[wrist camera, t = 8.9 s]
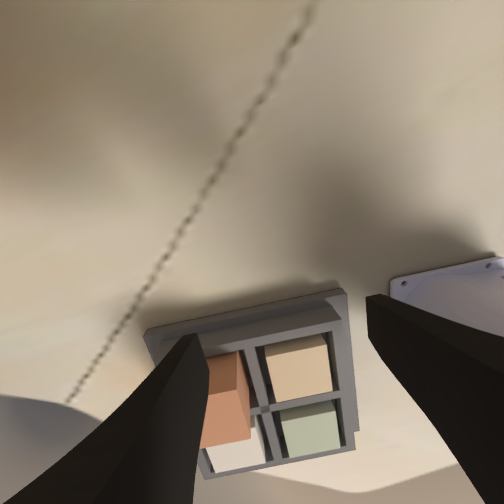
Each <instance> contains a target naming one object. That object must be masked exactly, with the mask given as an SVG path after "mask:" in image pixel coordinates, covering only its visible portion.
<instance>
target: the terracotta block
mask: <svg viewBox="0 0 504 504" xmlns="http://www.w3.org/2000/svg"><path fill="white" fill-rule="evenodd" d="M205 358H206V361H207V364H208V367H209V370H210V375H209V394H208V401H207V407H206V413H205V419H204V425H203V430H202V436H201V442H200V448H199V449H202V448H207V447H212V446H217V445H222V444H227V443H233V442H238V441H243V440H248V439H251V427H250V403H249V380H248V376H247V373H246V369H245V365H244V361H243V358H242V354H241V350H238V351H233V352H228V353H223V354H219V355H214V356H209V357H205Z"/></svg>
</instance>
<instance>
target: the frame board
mask: <svg viewBox="0 0 504 504" xmlns="http://www.w3.org/2000/svg"><path fill="white" fill-rule="evenodd" d="M193 333H197V335H198V337H199V340H200V343H201V346H202V349H203V352H204V355H205V357H209V356H214V355H219V354H223V353H228V352H233V351H238V350H241V354H242V358H243V361H244V365H245V369H246V373H247V376H248V380H249V403H250V427H251V439H248V440H243V441H238V442H233V443H227V444H222V445H217V446H212V447H207V448H202V449H199V453H198V459H197V464H198V466H199V468H200V470H201V473H202V475H203V478H204V480H208V479H213V478H218V477H223V476H228V475H232V474H238V473H243V472H248V471H253V470H258V469H263V468H268V467H273V466H278V465H283V464H288V463H293V462H298V461H303V460H308V459H313V458H318V457H323V456H328V455H333V454H338V453H343V452H348V451H353V450H356V448H355V438H354V432H357V431H360V430H359V419H358V408H357V398H356V387H355V377H354V366H353V356H352V345H351V335H350V324H349V314H348V303H347V293H346V292H345V291H344V290H343V289H342V288H339V289H334V290H330V291H325V292H320V293H316V294H311V295H306V296H301V297H297V298H292V299H287V300H283V301H278V302H273V303H269V304H264V305H259V306H254V307H250V308H245V309H240V310H236V311H231V312H226V313H222V314H217V315H212V316H207V317H203V318H198V319H193V320H189V321H184V322H179V323H175V324H170V325H165V326H160V327H156V328H151V329H147V331H146V332H145V334H144V336H143V338H144V341H145V343H146V345H147V348H148V350H149V352H150V355H151V357H152V359H153V362H154V364H155V366H157V365H158V364H159V363H160V362H161V360H162V359H163V358H164V357H165V356H166V355H167V353H168V352H169V351H170V350H171V349H172V347H173V346H174V345H175V344H176V343H177V341H178V340H179V339H180V338H181V337H182V336H183V335H188V334H193Z"/></svg>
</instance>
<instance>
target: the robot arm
mask: <svg viewBox="0 0 504 504" xmlns="http://www.w3.org/2000/svg"><path fill="white" fill-rule="evenodd" d="M403 281H404V283H403V284H402V282H403ZM401 284H402V285H401ZM366 312H367V327H368V338H369V340H370V341H371V343H372V345H373V346H374V348H375V350H376V351H377V353H378V354H379V356H380V357H381V359H382V360H383V362H384V363H385V364H386V366H387V367H388V368H389V369H390V371H391V372H392V373H393V375H394V376H395V377H396V378H397V380H398V381H399V382H400V383H401V385H402V386H403V387H404V388H405V390H406V391H407V392H408V393H409V395H410V396H411V397H412V398H413V400H414V401H415V402H416V403H417V405H418V406H419V407H420V408H421V410H422V411H423V412H424V413H425V415H426V416H427V417H428V419H429V420H430V421H431V423H432V424H433V425H434V427H435V428H436V430H437V431H438V433H439V434H440V435H441V437H442V438H443V440H444V441H445V443H446V444H447V446H448V447H449V449H450V450H451V452H452V453H453V455H454V456H455V458H456V459H457V461H458V462H459V464H460V465H461V467H462V468H463V470H464V471H465V473H466V475H467V476H468V478H469V479H470V481H471V482H472V484H473V485H474V487H475V488H476V490H477V491H478V493H479V495H480V496H481V498H482V499H483V501H484V502H485V504H504V258H503V257H499V256H498V257H492V258H488V259H483V260H478V261H474V262H469V263H464V264H459V265H455V266H450V267H445V268H441V269H436V270H431V271H426V272H422V273H417V274H412V275H408V276H403V277H398V278H395V279H393V280H392V281H391V282H390V297H388V296H385V295H382V294H377V295H372V296H368V297H366ZM209 375H210V370H209V367H208V364H207V361H206V358H205V355H204V352H203V349H202V346H201V343H200V340H199V337H198V335H197V333H193V334H188V335H183V336H182V337H181V338H180V339H179V340H178V341H177V343H176V344H175V345H174V346H173V347H172V349H171V350H170V351H169V352H168V353H167V355H166V356H165V357H164V358H163V359H162V360H161V362H160V363H159V364H158V365H157V366H156V367H155V369H154V370H153V371H152V372H151V373H150V374H149V376H148V377H147V378H146V379H145V380H144V381H143V382H142V383H141V384H140V385H139V386H138V387H137V389H136V390H135V391H134V392H133V393H132V394H131V395H130V396H129V397H128V398H127V399H126V400H125V401H124V402H123V403H122V404H121V405H120V406H119V407H118V408H117V409H116V410H115V411H114V412H113V413H112V414H111V415H110V416H109V417H108V418H107V419H106V420H105V421H104V422H103V423H102V424H100V425H99V426H98V427H97V428H96V429H95V430H94V431H93V432H92V433H90V434H89V435H88V436H87V437H86V438H85V439H84V440H82V441H81V442H80V443H79V444H78V445H77V446H75V447H74V448H73V449H72V450H71V451H69V452H68V453H67V454H66V455H65V456H64V457H62V458H61V459H60V460H59V461H58V462H56V463H55V464H54V465H53V466H51V467H50V468H49V469H48V470H46V471H45V472H44V473H43V474H41V475H40V476H39V477H37V478H36V479H35V480H34V481H32V482H31V483H30V484H28V485H27V486H26V487H24V488H23V489H22V490H20V491H19V492H18V493H17V494H15V495H14V496H13V497H11V498H10V499H9V500H7V501H6V502H4V503H3V504H193V493H194V482H195V473H196V466H197V459H198V453H199V448H200V442H201V436H202V430H203V425H204V419H205V413H206V407H207V401H208V394H209Z"/></svg>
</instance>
